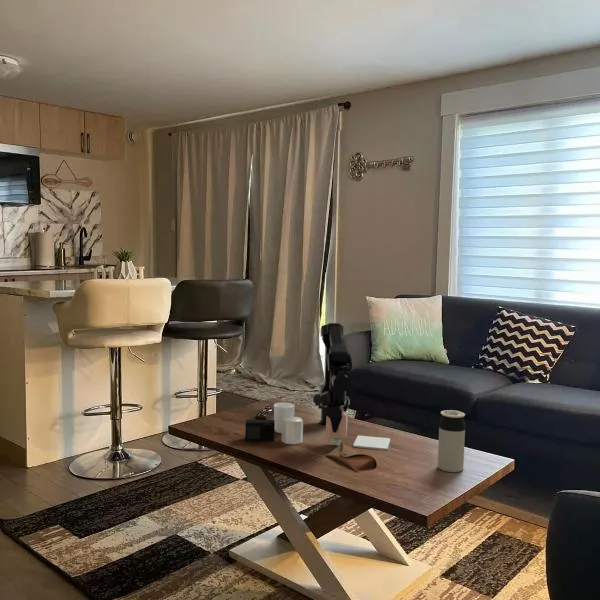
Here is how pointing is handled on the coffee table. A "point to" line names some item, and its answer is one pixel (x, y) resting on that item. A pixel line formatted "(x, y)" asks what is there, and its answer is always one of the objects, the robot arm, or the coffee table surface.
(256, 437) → the digital camera
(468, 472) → the coffee table surface
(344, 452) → the sunglasses case
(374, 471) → the coffee table surface
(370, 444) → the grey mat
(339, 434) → the terracotta cup
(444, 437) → the travel mug
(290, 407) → the white cup
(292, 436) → the off-white cup
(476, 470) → the coffee table surface
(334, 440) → the pale green marble
